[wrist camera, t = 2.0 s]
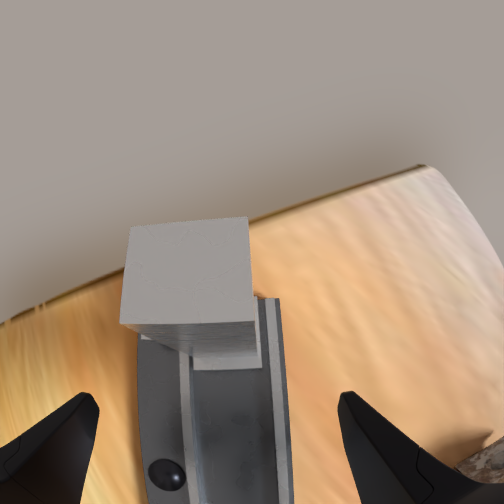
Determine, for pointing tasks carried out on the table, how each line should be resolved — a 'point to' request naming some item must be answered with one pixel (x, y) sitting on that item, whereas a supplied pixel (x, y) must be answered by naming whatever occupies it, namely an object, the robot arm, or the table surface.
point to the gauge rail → (216, 424)
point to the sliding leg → (194, 291)
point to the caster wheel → (485, 464)
